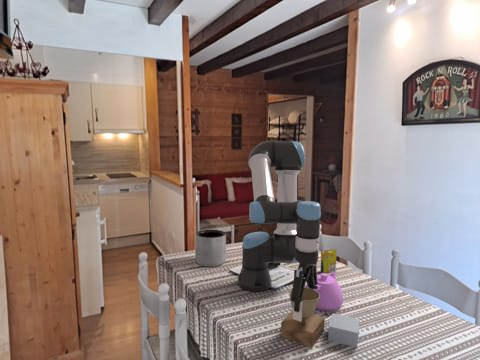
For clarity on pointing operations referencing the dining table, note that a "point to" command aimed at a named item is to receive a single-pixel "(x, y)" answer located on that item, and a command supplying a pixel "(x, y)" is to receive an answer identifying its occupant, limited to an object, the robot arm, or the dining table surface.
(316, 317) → the walnut block
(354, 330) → the slate block
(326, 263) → the crayon box
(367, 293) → the dining table surface
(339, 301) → the teapot
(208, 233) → the planter
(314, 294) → the tan cup
